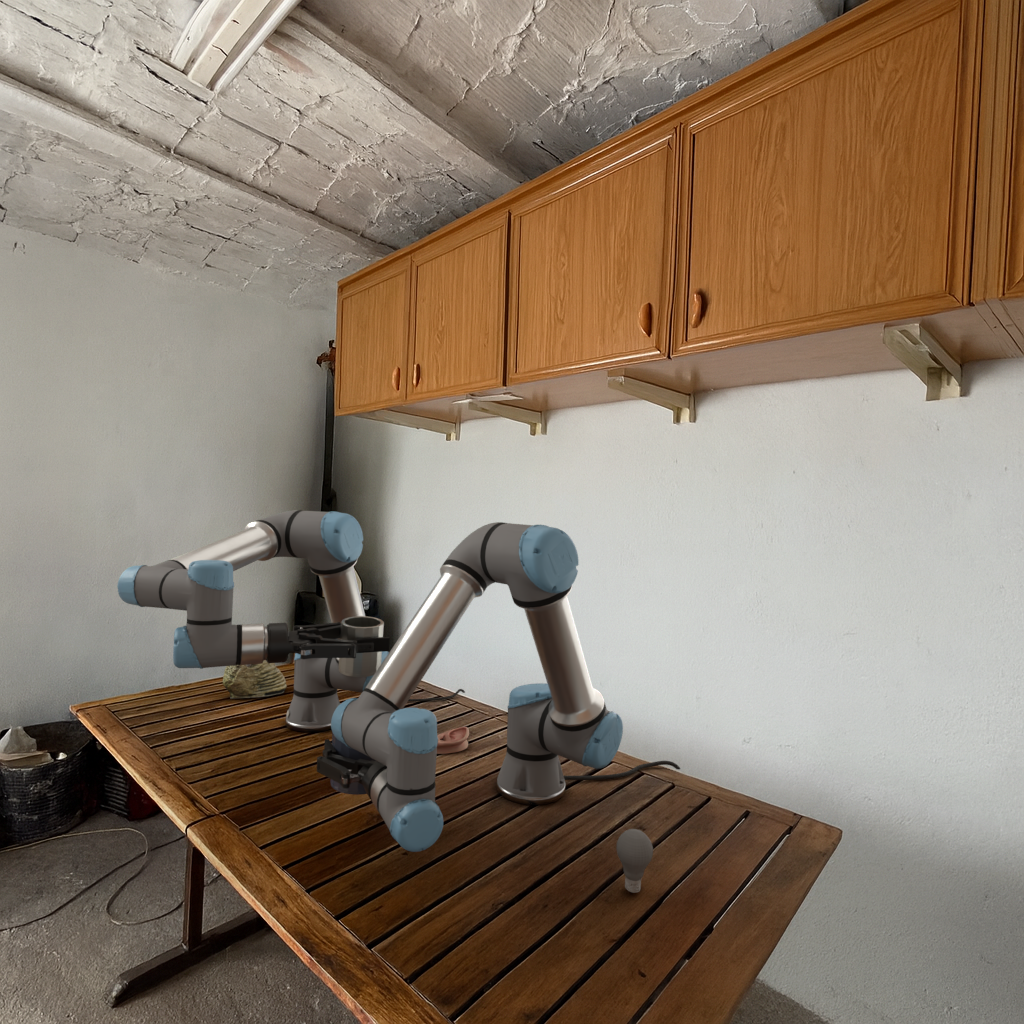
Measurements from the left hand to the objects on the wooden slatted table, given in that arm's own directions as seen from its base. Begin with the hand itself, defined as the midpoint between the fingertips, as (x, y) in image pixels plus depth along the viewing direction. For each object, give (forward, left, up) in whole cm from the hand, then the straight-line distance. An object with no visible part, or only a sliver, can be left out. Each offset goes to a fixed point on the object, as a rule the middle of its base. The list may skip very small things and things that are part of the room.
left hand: (383, 637), depth 130 cm
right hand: (+5, 0, -20) cm, 21 cm away
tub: (+7, +3, -27) cm, 28 cm away
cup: (+4, -3, -7) cm, 8 cm away
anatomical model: (-32, -13, -35) cm, 49 cm away
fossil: (-20, -83, -35) cm, 92 cm away
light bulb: (-10, +53, -35) cm, 65 cm away
